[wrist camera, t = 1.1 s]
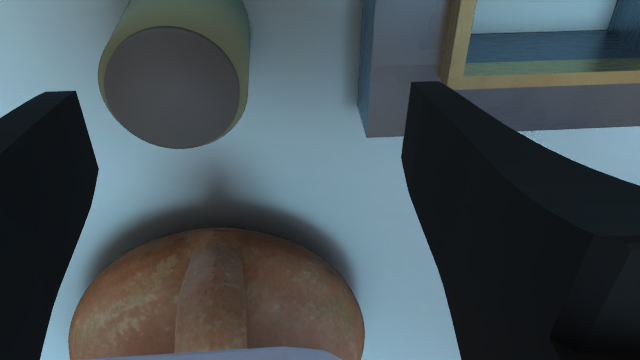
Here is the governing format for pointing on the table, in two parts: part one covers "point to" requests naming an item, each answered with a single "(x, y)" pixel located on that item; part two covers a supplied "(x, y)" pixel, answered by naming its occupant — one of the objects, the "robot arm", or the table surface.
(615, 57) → the grey square base
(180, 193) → the table surface
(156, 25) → the oil can
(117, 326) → the ceramic jug
